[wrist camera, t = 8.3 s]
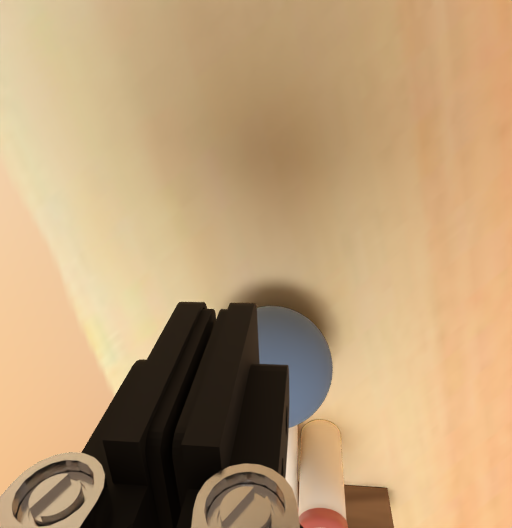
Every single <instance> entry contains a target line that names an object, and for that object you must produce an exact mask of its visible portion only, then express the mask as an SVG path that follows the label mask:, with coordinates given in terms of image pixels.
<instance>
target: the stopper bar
mask: <svg viewBox="0 0 512 528" xmlns="http://www.w3.org/2000/svg"><path fill="white" fill-rule="evenodd" d="M344 493H345V507H346V521H347V524H348V528H394V526H393V520H392V514H391V508H390V502H389V496H388V490H387V488H376V487H362V486H347V485H344ZM298 508H299V482H298Z"/></svg>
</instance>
